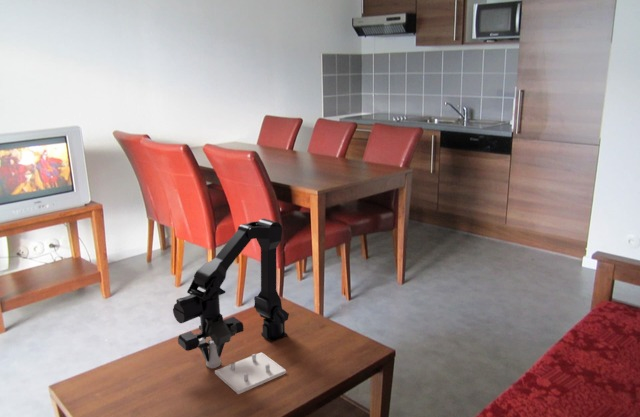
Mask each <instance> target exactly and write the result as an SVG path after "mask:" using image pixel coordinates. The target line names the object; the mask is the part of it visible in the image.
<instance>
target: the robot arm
mask: <svg viewBox="0 0 640 417" xmlns="http://www.w3.org/2000/svg"><path fill="white" fill-rule="evenodd" d="M237 227H238V228H237V230H236V231H235V233H234V234H233V235H232V236H231V238H230V239H229V240H228V241H227V243H226V244H224V246H222V247H223V248H222V249H221V250H220V251H219V252H218V254H217V255H216V256H215V257H214V258H213V259H212V260H210V261H208V262H206V263H204V264H203V265H202V266H200V268H198V270H196V272H195V273H194V275H193V277H194V278H193V279H192V282H191V283H190V286H189V287H188V289H187V292H186V293H187V294H188V295H187V296H184V297H179V298H177V299H176V303H175V304H174V305H173V308H172V312H173V313H172V314H173V316H174V318H175V320H176V322H178V323H179V324H184V323H187V322H189V321H191V320H194V319H196V318H200V325H199V326H198V330H200V331H201V332H199V333H196V334H195V333H193V332H192V331H187V332H184V333H182V334H179V336H178V337H177V342H178V343H177V344H178V345H179V346H180V347H181V348H182V349H184V350H185V351H186V352H189V351H192V350H194V349H200V352H201V353H202V355H203V357H204V359H205V362H206V361H207V362H208V361H209V354H208V353H209V350H208V346H209V344H208V341H207V339H208V338H210V340H211V339H212V340H213V341H214V343H215V345H217V346H216V347H217V354H218V356H219V357H220V358H221V357H222V352H223V351H224V348H225V345H226V343H229V342H231V339H232V337H234V336H236V334H240V333H242V332H243V331H244V330H245V329H244V324H243V322H242V321H241V320H239V319H238V318H236V317H234V316H231V317H229V318H225V319H224V317H223V314H222V313H221V307H220V296H221V295H224V294H225V293H226V290H224V289H222V288H221V286H222V285H223V283H224V281H226V276H227V271H228V270H229V269H230V267H231V266H232V264H233V263H234V262H235V260H237V258H238V257H239V256H240V254H241V253H242V252H243V250H244V249H245V248H246V247H247V246H248V245H249V243H250V242H251V241H252V240H254V239H255V240H256V241H257V243H258V246H259V248H260V291H259V293H258V294H257V295H255V296H254V297H253V298H254V305H253V308H255V312H256V313H257V314H259V317H260V318H263V320H262V321H263V323H262V332H261V336H262V337H264V338H265V339H266V340H268V341H270V342H275V341H278V340H280V339H283V338H286V337H288V335H289V334H288V333H286V329H285V326H286V325H285V323H286V321H288V320H289V316H290V314H289V312H287V311H286V310H285V309H283V303H282V299H281V297H280V295H279V293H278V291H277V290H278V289H277V280H278V278H277V267H278V266H277V265H278V264H277V254H278V253H277V251H278V250H277V249H278V246H279V245H280V243H281V241H282V237H283V236H282V235H283V226H282V225H281V223H280V222H277V221H274V220H271V219H269V218H268V219H267V218H260V219H259V220H257V221H250V222H248V223H242V224H240V225H239V226H237ZM198 288H200V289H202V290H204V291H202V290H200V289H198Z"/></svg>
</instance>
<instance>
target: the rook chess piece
mask: <svg viewBox="0 0 640 417" xmlns="http://www.w3.org/2000/svg"><path fill="white" fill-rule="evenodd" d="M207 343H208V344H209V346H208V354H209V361H208V362H207V361H206V360H205V365H206V367H207V368H209V369H216V368H218V367H220V366H221V364H222V360H221V356H220V357H219V356H218V354H217V347H216V346H217V345H215V343H214V341H213V340H212V339H211V338H210V339H208V340H207Z"/></svg>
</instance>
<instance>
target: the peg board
mask: <svg viewBox="0 0 640 417" xmlns="http://www.w3.org/2000/svg"><path fill="white" fill-rule="evenodd" d="M214 374H215V375H216V376H217V377H218V378H219V379H220V380H221V381H223V382H224V383H225V384H226V385H227V386H228V387H230V388H231V389H232V390H233V391H234V392H235V393H236V395H240V394H242V393H245V392H248V391H250V390H251V389H252V390H253V388H256V387H258V386H261V385H263V384H264V383H265V384H266V383H267V382H269V381H271V380H274V379H276V378H279V377H281V376H283V375H286V374H287V370H286V369H285V368H284V367H283V366H281V365H279V364H278V363H277V362H276V361H274V360H273V359H271V358H270V357H269V356H267V355H266V354H265V353H263V352H259V353H253V354H251V355H250V356H248V357H245V358H243V359H240V360H238V361H236V362H235V361H233V362H230V364H228V365H226V366H223V367H221V368H219V369H216V370H214Z"/></svg>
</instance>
